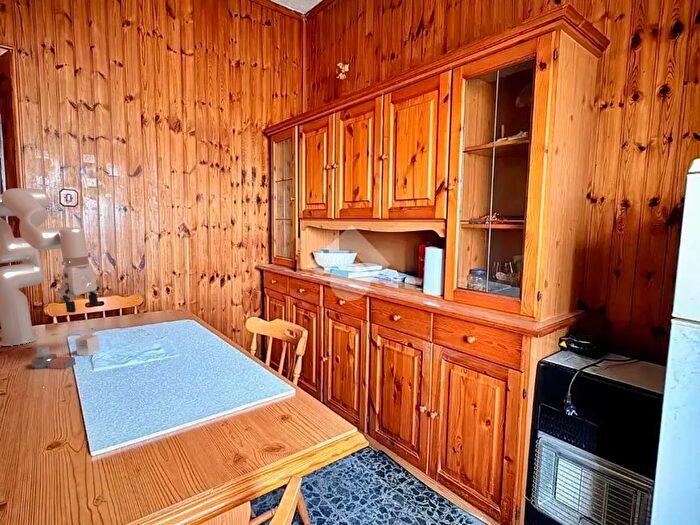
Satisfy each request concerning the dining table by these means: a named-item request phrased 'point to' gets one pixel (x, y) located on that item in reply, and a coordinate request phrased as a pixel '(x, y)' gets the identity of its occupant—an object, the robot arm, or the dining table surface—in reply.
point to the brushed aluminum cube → (87, 344)
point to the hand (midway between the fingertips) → (83, 308)
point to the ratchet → (51, 360)
